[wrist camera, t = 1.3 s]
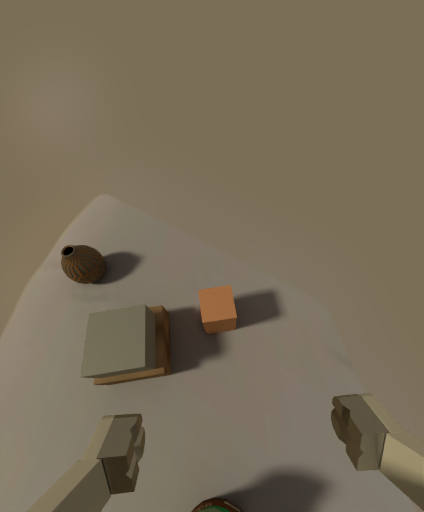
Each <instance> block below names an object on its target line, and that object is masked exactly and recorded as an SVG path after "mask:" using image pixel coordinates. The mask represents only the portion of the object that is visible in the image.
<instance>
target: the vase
mask: <svg viewBox="0 0 424 512" xmlns="http://www.w3.org/2000/svg"><path fill="white" fill-rule="evenodd" d="M61 255H62V260H61V265H62V269H63V271H64V273H65V274H66V275H67V276H68V277H69V278H70V279H72V280H73V281H75V282H78V283H83V284H89V283H93V282H95V281H97V280H99V279H100V278H101V277H102V276H103V274H104V272H105V269H106V263H105V260H104V258H103V256H102V255H101V254H100V253H99V252H98V251H97V250H96V249H94V248H92V247H89V246H86V245H77V246H74V245H68V246H66V247H64V248H63V249H62V251H61Z"/></svg>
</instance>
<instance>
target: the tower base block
mask: <svg viewBox="0 0 424 512" xmlns="http://www.w3.org/2000/svg"><path fill="white" fill-rule="evenodd" d="M149 309H150V310H151V311H152V312H153V313H154V314H155V336H156V369H154V370H148V371H141V372H135V373H129V374H123V375H117V376H111V377H105V378H95V380H94V385H112V384H118V383H124V382H130V381H136V380H142V379H149V378H155V377H161V376H167V375H171V354H170V331H169V313H168V312H167V311H166V310H165V308H164V307H163V306H156V307H150V308H149Z"/></svg>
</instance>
